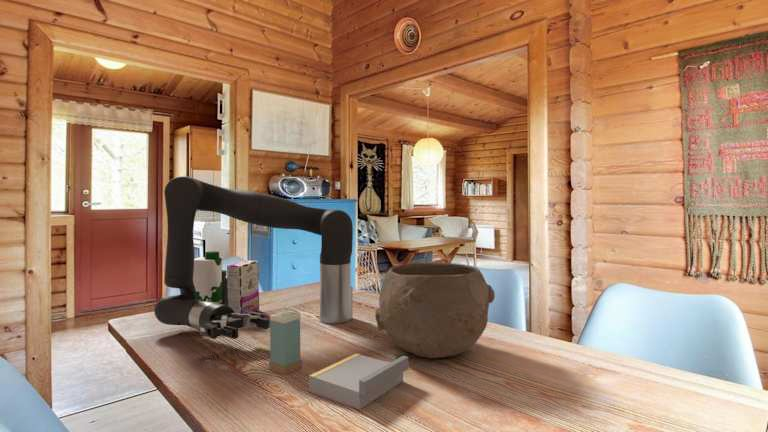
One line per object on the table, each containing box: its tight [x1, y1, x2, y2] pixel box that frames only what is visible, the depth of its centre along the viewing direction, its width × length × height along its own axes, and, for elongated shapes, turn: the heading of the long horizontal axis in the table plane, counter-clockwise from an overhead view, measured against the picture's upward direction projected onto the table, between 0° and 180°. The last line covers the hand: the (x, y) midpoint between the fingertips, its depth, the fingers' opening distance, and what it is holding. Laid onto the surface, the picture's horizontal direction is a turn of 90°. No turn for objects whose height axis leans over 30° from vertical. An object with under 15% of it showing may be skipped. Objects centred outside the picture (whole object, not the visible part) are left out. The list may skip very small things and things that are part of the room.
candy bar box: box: [226, 259, 260, 314], centre depth 132 cm, size 11×5×16 cm, turn 168°
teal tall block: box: [268, 310, 303, 375], centre depth 89 cm, size 5×5×12 cm
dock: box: [308, 353, 409, 410], centre depth 80 cm, size 14×13×5 cm
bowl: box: [374, 262, 496, 359], centre depth 99 cm, size 27×29×20 cm
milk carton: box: [193, 250, 224, 304], centre depth 130 cm, size 9×9×20 cm
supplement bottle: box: [222, 269, 228, 306], centre depth 143 cm, size 7×7×12 cm
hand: (253, 329), depth 95 cm, fingers open, 8 cm apart
